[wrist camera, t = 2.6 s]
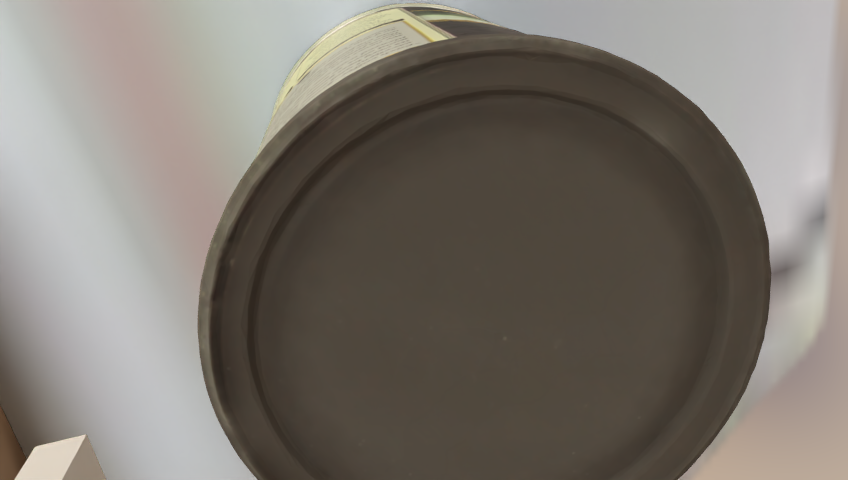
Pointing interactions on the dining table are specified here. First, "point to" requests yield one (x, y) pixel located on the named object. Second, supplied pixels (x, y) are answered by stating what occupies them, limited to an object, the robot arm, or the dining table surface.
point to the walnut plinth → (9, 451)
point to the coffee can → (481, 264)
